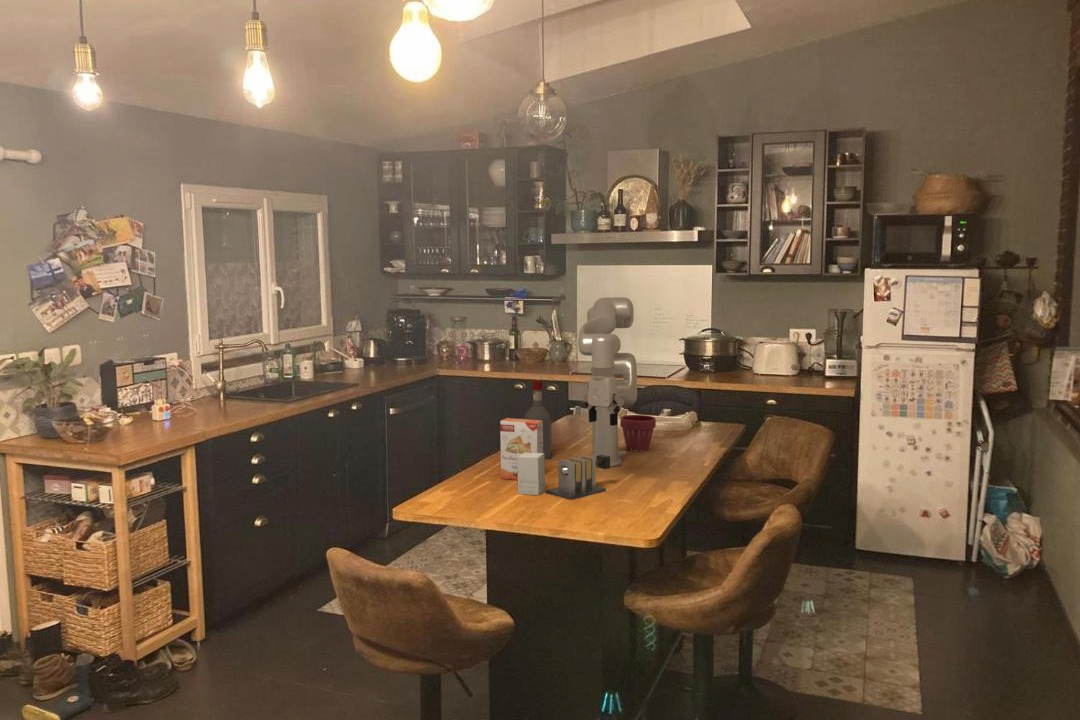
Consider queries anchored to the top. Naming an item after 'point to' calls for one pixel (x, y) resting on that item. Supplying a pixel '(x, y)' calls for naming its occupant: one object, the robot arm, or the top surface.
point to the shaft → (601, 462)
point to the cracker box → (518, 443)
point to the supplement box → (531, 473)
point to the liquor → (541, 418)
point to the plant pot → (637, 431)
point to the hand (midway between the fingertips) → (603, 423)
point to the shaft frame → (567, 481)
